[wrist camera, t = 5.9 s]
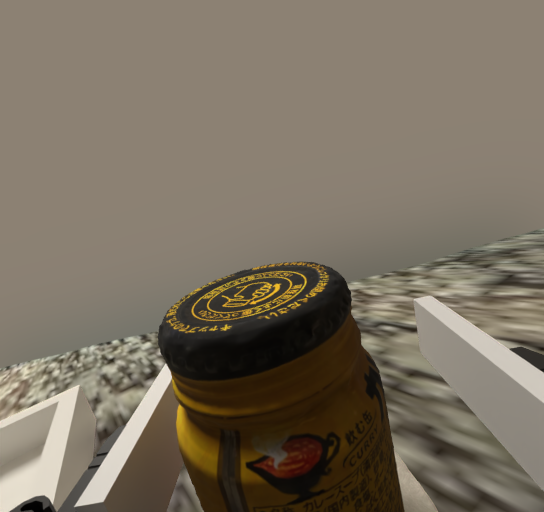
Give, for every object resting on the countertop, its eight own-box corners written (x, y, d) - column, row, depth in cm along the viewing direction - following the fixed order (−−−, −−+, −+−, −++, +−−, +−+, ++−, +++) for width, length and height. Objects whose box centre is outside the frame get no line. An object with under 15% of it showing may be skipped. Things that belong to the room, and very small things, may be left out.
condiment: (237, 517, 13) (153, 287, 10) (392, 449, 14) (354, 229, 12) (264, 877, 6) (27, 457, 3) (564, 682, 7) (567, 265, 5)
